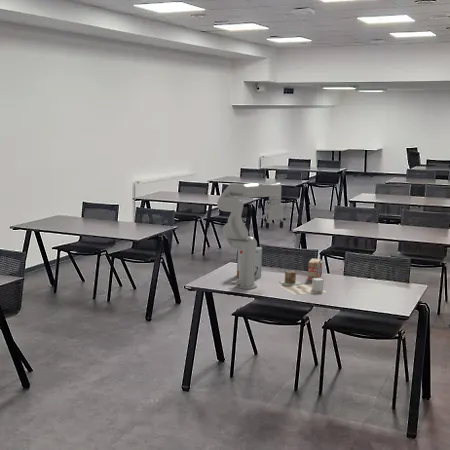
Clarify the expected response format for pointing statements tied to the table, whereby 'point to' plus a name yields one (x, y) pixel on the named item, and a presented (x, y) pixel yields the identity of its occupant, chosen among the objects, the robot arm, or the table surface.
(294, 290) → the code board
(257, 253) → the hard drive box
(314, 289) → the pale grey block
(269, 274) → the table surface
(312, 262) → the stack of blocks
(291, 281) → the walnut block
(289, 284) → the mat
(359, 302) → the table surface
